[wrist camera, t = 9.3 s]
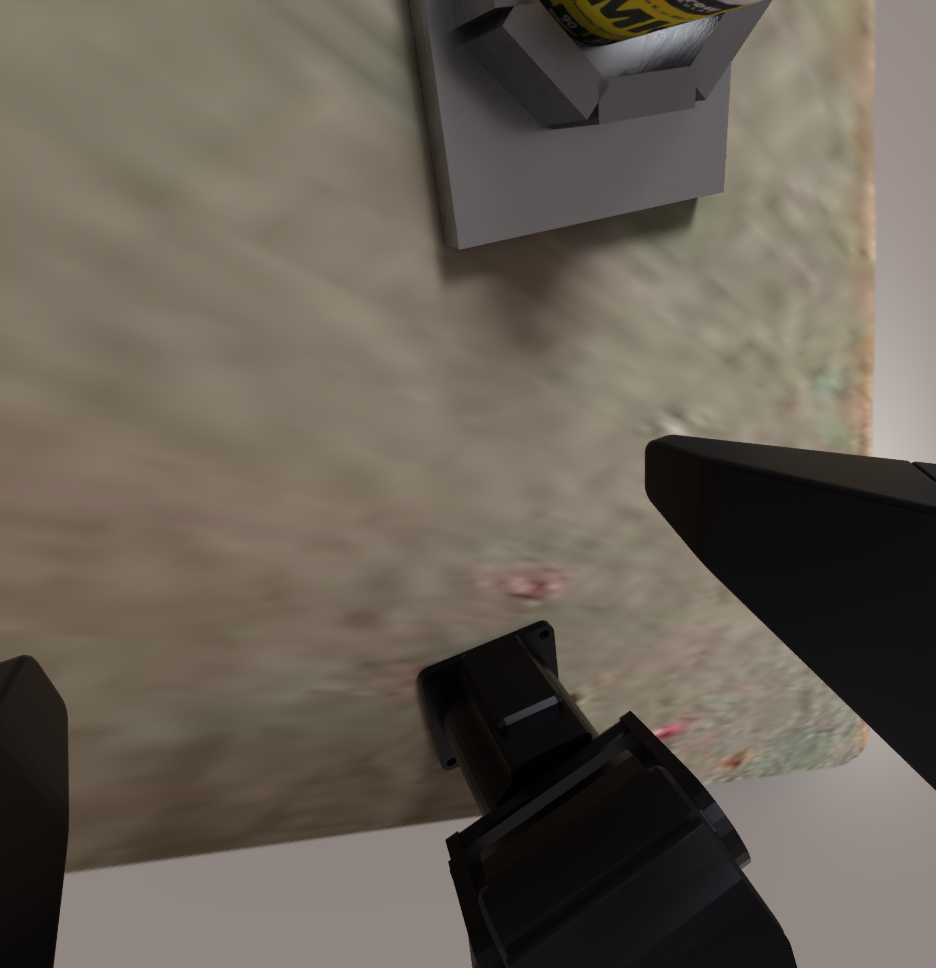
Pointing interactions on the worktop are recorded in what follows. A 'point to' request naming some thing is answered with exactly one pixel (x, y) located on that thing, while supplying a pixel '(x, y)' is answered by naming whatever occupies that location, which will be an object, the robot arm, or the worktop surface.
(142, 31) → the worktop surface
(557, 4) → the supplement bottle
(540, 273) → the worktop surface
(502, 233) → the socket plate
